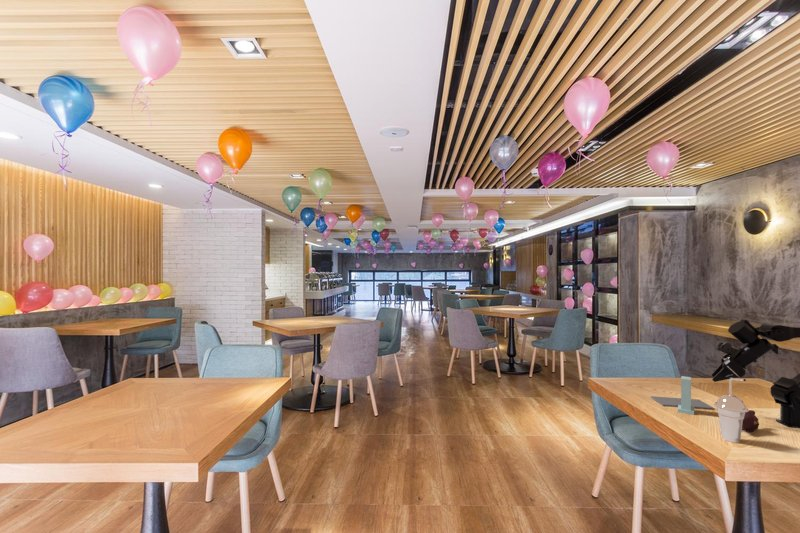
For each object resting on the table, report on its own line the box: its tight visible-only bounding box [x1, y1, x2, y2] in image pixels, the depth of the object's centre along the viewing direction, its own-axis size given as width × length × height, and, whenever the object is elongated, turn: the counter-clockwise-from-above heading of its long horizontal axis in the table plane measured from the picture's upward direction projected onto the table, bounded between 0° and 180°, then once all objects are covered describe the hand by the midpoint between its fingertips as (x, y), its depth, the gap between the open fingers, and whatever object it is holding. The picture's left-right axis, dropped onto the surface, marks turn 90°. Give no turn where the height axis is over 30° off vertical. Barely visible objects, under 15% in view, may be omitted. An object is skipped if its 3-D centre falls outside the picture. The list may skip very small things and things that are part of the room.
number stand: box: [677, 375, 695, 415], centre depth 160 cm, size 5×7×12 cm
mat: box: [650, 395, 716, 411], centre depth 170 cm, size 12×18×1 cm, turn 79°
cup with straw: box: [713, 377, 749, 444], centre depth 132 cm, size 8×9×20 cm
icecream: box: [742, 409, 760, 433], centre depth 141 cm, size 7×7×15 cm
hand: (712, 378), depth 156 cm, fingers open, 9 cm apart
